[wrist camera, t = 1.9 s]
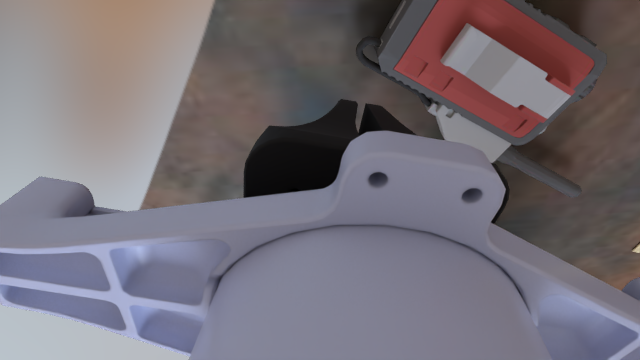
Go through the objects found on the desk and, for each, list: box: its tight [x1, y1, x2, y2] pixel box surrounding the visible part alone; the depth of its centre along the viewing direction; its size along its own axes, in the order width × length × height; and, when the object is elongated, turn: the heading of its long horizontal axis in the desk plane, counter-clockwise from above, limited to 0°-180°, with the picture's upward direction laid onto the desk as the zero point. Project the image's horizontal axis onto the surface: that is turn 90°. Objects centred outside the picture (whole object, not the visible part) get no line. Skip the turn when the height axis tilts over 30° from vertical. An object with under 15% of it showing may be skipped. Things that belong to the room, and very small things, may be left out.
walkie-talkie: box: [356, 0, 607, 197], centre depth 20 cm, size 9×4×20 cm
